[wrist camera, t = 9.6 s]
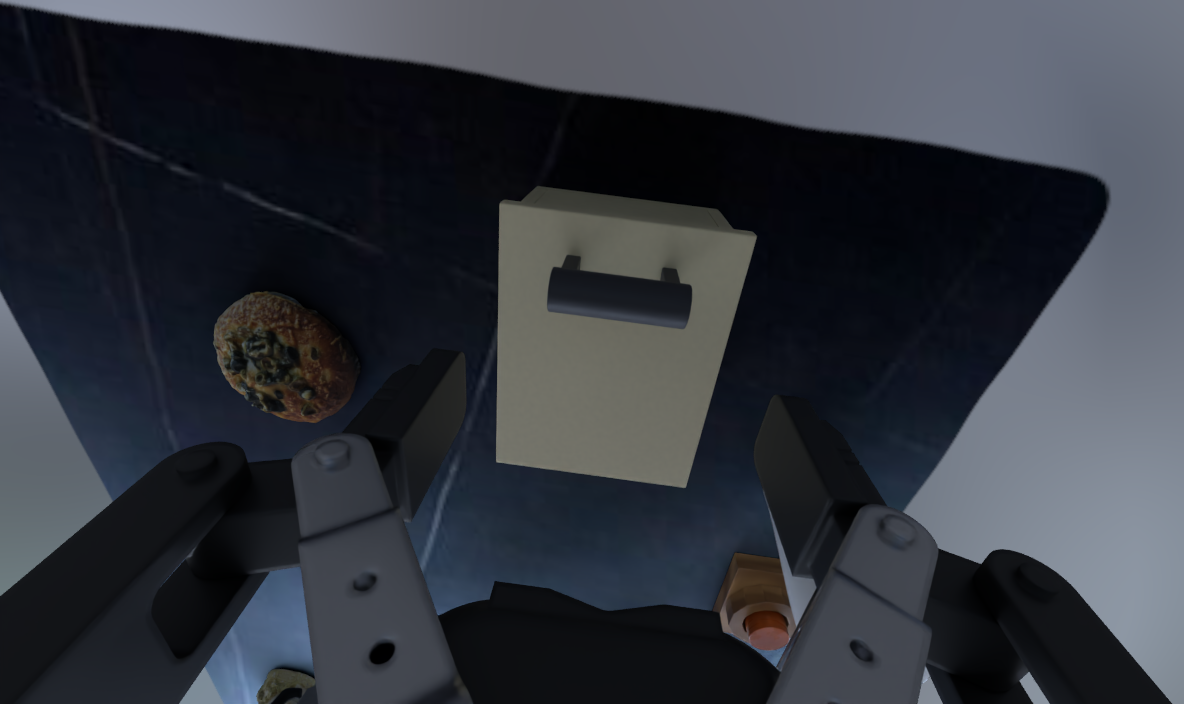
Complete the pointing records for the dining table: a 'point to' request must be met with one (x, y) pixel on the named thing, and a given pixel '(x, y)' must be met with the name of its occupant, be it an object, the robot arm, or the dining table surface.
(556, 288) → the lid
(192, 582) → the robot arm
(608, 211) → the beige open box
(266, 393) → the bread roll
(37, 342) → the dining table surface
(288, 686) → the ceramic model
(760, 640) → the button
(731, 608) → the block
